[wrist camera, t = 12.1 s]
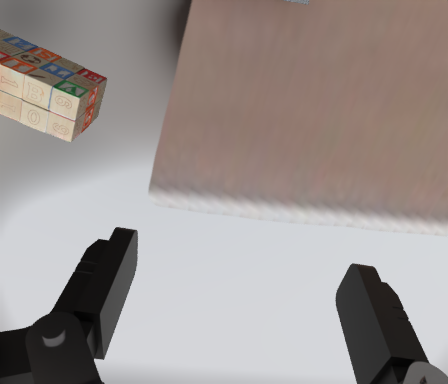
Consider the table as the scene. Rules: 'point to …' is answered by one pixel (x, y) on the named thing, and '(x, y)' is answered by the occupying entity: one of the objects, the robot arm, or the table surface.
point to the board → (299, 1)
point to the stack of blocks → (47, 89)
